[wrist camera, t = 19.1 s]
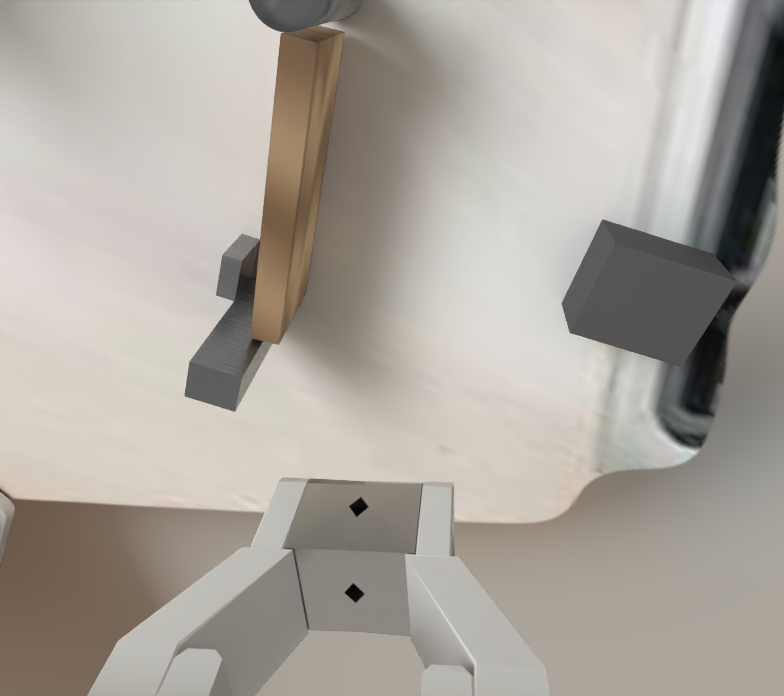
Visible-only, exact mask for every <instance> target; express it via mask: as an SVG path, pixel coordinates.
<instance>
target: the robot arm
mask: <svg viewBox="0 0 784 696" xmlns="http://www.w3.org/2000/svg"><path fill="white" fill-rule="evenodd" d="M14 513H15V507H14V505H13V503H12V502H11V501H10V500H9V499H8V498H7V497H6V496H5V495H3V494H2V493H1V492H0V565H1V561H2V558H3V554H4V550H5V546H6V543H7V539H8V535H9V532H10V528H11V524H12V520H13V516H14ZM454 552H455V551H454V484H453V483H452V482H424V484H423V483H415V482H370V481H367V482H366V481H349V480H330V479H301V478H282V479H281V480H280V481H279V482H278V483H277V484H276V487H275V489H274V492H273V494H272V496H271V499H270V501H269V504H268V506H267V509H266V511H265V513H264V516H263V518H262V521H261V523H260V526H259V528H258V531H257V533H256V535H255V538H254V540H253V542H252V545H251V547H250V548H248V547H242V548H240V549H239V550H238V551H236V552H235V553H234V554H233V555H231V556H230V557H229V558H227V559H226V560H224V561H223V562H222V563H220V564H219V565H218V566H217V567H215V568H214V569H213V570H211V571H210V572H209V573H207V574H206V575H205V576H203V577H202V578H201V579H199V580H198V581H197V582H195V583H194V584H193V585H191V586H190V587H189V588H187V589H186V590H185V591H183V592H182V593H181V594H179V595H178V596H177V597H175V598H174V599H173V600H172V601H170V602H169V603H167V604H166V605H165V606H164V607H162V608H161V609H159V610H158V611H157V612H156V613H154V614H153V615H151V616H150V617H149V618H148V619H146V620H145V621H144V622H142V623H141V624H140V625H138V626H137V627H136V628H134V629H133V630H132V631H130V632H129V633H128V634H126V635H125V636H124V637H122V638H121V639H120V640H118V642H117V644H116V645H115V647H114V649H113V651H112V653H111V654H110V656H109V658H108V660H107V661H106V663H105V665H104V667H103V668H102V670H101V672H100V674H99V675H98V677H97V679H96V681H95V683H94V684H93V686H92V688H91V690H90V691H89V693H88V695H87V696H255V694H256V693H257V692H258V691H259V690H260V689H261V687H262V686H263V685H264V684H265V683H266V682H267V681H268V679H269V678H270V677H271V676H272V675H273V674H274V672H275V671H276V670H277V669H278V668H279V666H280V665H281V664H282V663H283V662H284V661H285V659H287V657H288V656H289V655H290V654H291V653H292V652H293V650H294V649H295V648H296V647H297V646H298V644H299V643H300V642H301V641H302V640H303V639H304V638H305V637H306V635H307V634H308V630H319V631H351V632H359V631H360V632H367V633H378V634H390V635H401V636H411V640H412V642H413V644H414V646H415V648H416V650H417V652H418V654H419V656H420V658H421V660H422V662H423V664H424V666H425V668H426V670H425V671H424V672H422V680H421V691H420V696H550V695H549V687H548V679H547V670H546V669H545V667H544V666H543V665H542V663H541V662H540V661H539V660H538V658H537V657H536V656H535V654H534V653H533V652H532V650H531V649H530V648H529V646H528V645H527V644H526V642H525V641H524V640H523V639H522V637H521V636H520V635H519V633H518V632H517V631H516V629H515V628H514V627H513V625H512V624H511V623H510V621H509V620H508V619H507V617H506V616H505V615H504V614H503V612H502V611H501V609H500V608H499V607H498V606H497V604H496V603H495V602H494V600H493V599H492V598H491V596H490V595H489V594H488V593H487V591H486V590H485V589H484V587H483V586H482V585H481V583H480V582H479V581H478V579H477V578H476V577H475V575H474V574H473V573H472V571H471V570H470V569H469V567H468V566H467V565H466V563H465V562H464V561H463V560H462V558H461V557H455V553H454Z"/></svg>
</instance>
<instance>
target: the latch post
mask: <svg viewBox="0 0 784 696" xmlns="http://www.w3.org/2000/svg"><path fill="white" fill-rule="evenodd" d="M258 244H259V239H255V238H252V237H249V236H246V235H243V234H241V235H240V236H239V238H238V239H237V240H236V241H235V242H234V243H233V244H232V245H231V246H230V247H229V249H228V250H227V251H226V252H225V253H224V254H223V256H222V262H221V268H220V274H219V280H218V286H217V292H216V295H217V296H220V297H223V298H226V299H229V300H232V301H234V302H233V304H232V305H231V306H230V308H229V309H228V310H227V312H226V313H225V315H224V316H223V317H222V319H221V320H220V321H219V323H218V324H217V325H216V327H215V328H214V329H213V331H212V332H211V333H210V335H209V336H208V338H207V339H206V340H205V342H204V343H203V344H202V346H201V347H200V348H199V350H198V351H197V352H196V354H195V355H194V356H193V358H192V359H191V360H190V362H189V369H188V376H187V383H186V389H185V396H186V397H189V398H192V399H195V400H199V401H202V402H205V403H208V404H212V405H215V406H218V407H221V408H225V409H228V410H231V411H234V412H235V411H236V409H237V407H238V405H239V403H240V402H241V400H242V398H243V396H244V394H245V393H246V391H247V389H248V387H249V385H250V383H251V382H252V380H253V378H254V376H255V374H256V372H257V371H258V369H259V367H260V365H261V363H262V361H263V360H264V358H265V356H266V354H267V352H268V351H269V349H270V347H271V345H272V343H269V342H265V341H261V340H257V339H252V338H250V337H251V327H252V317H253V307H254V297H255V287H256V279H255V278H252V274H253V269H254V264H255V259H256V254H257V249H258Z"/></svg>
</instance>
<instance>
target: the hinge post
mask: <svg viewBox="0 0 784 696" xmlns="http://www.w3.org/2000/svg"><path fill="white" fill-rule="evenodd" d="M249 2H250V5H251V7H252V9H253V11H254V12H255V14H256V15H257V16H258V18H259V19H260V20H261V21H262V22H263V23H264V24H266V25H267V26H268V27H270V28H272V29H274V30H276V31H280V32H295V31H298V30H302V29H306V28H309V27H313V26H316V25H320V24H324V23H327V22H331V21H335V20H338V19H342V18H345V17H348V16H350V15H351V14H353V13H354V12H355V11H356V10H357V9H358V8H359V6H360V4H361V2H362V0H249Z"/></svg>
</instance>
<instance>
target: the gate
mask: <svg viewBox="0 0 784 696" xmlns="http://www.w3.org/2000/svg"><path fill="white" fill-rule="evenodd" d="M344 34H345V32H342V31H338V30H334V29H330V28H326V27H322V26H318V25H316V26H313V27H309V28H306V29H302V30H298V31H295V32H284V33H281V37H280V47H279V57H278V67H277V77H276V87H275V97H274V107H273V117H272V127H271V137H270V147H269V157H268V167H267V177H266V187H265V197H264V207H263V217H262V227H261V237H260V247H259V257H258V267H257V277H256V287H255V297H254V307H253V317H252V327H251V337H250V338H252V339H257V340H261V341H265V342H269V343H273V344H278V345H279V343H280V341H281V339H282V338H283V336H284V334H285V332H286V330H287V328H288V326H289V324H290V322H291V320H292V319H293V317H294V315H295V313H296V311H297V309H298V307H299V305H300V303H301V302H302V300H303V298H304V296H305V293H306V287H307V280H308V273H309V267H310V260H311V253H312V247H313V240H314V233H315V227H316V220H317V213H318V207H319V200H320V194H321V187H322V180H323V174H324V167H325V160H326V154H327V147H328V140H329V134H330V127H331V120H332V114H333V107H334V100H335V94H336V87H337V80H338V74H339V67H340V60H341V54H342V47H343V40H344Z"/></svg>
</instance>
